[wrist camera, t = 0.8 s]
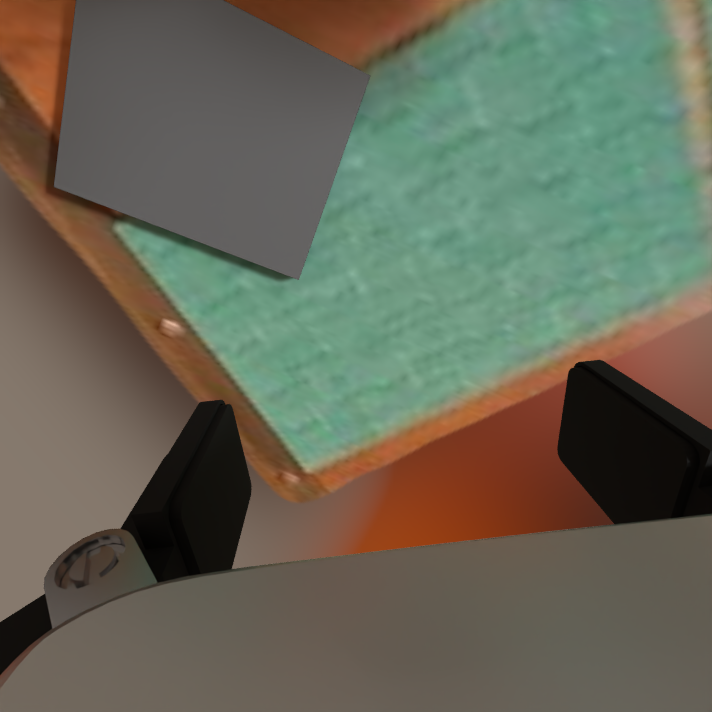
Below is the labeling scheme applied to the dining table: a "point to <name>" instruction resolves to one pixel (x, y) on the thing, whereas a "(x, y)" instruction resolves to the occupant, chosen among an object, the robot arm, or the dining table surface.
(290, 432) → the dining table surface
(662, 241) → the dining table surface
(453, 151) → the dining table surface
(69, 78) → the serving board
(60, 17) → the dining table surface
